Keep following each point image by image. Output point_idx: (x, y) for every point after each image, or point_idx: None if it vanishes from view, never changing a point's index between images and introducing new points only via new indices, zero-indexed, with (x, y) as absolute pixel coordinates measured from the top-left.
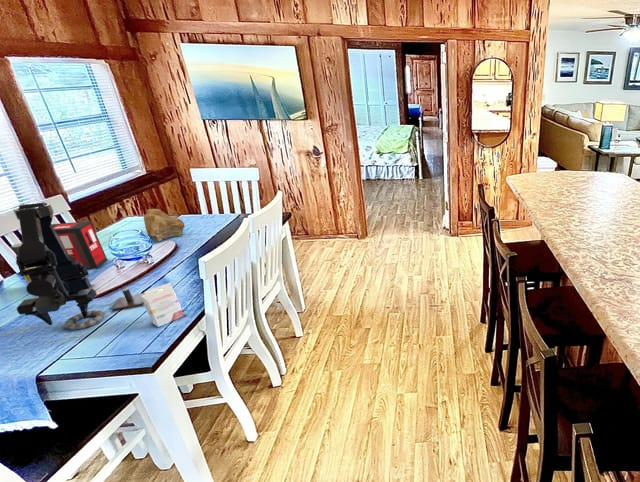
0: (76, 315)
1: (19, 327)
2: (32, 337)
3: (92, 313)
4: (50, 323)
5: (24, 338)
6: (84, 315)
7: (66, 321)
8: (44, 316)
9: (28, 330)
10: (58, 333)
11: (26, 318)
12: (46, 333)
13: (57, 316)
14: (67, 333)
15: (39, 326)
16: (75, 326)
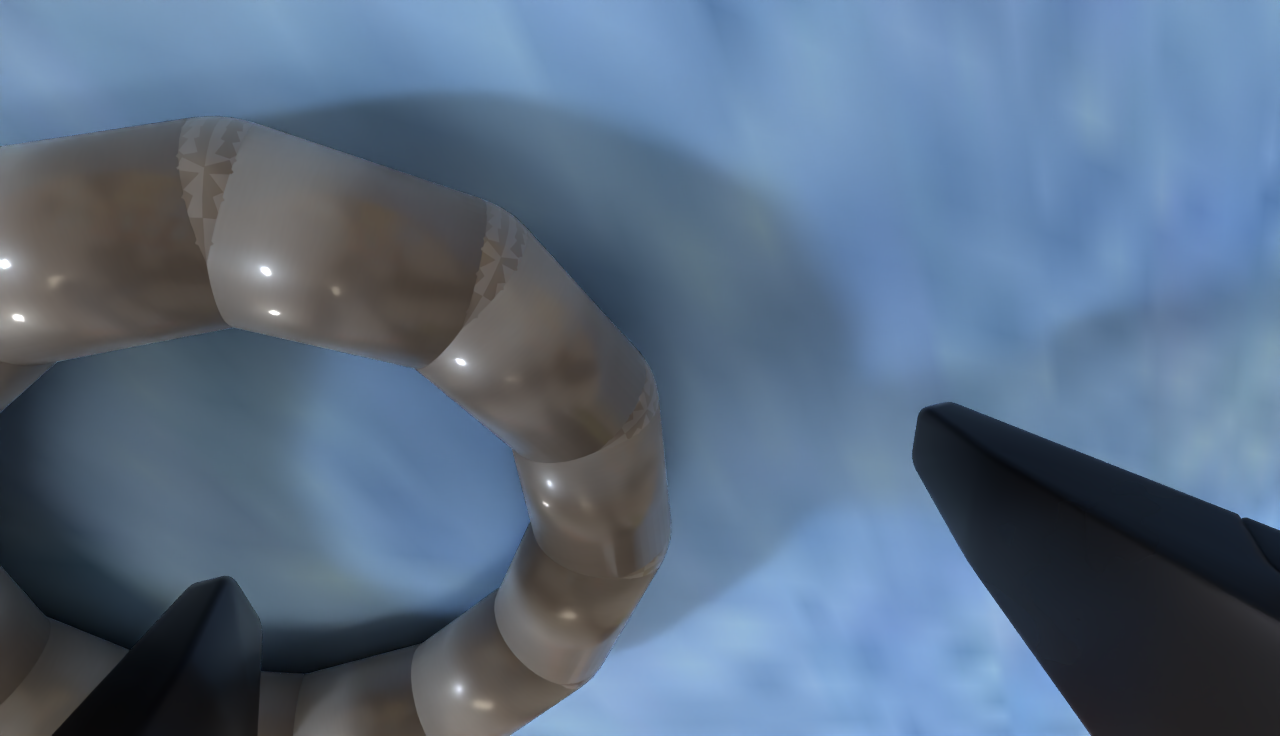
0: (537, 677)
1: (1274, 478)
2: (1156, 92)
3: None
4: (947, 431)
5: (1269, 100)
6: (133, 668)
7: (638, 489)
8: (1210, 617)
9: (1196, 381)
10: (686, 101)
11: None
12: (940, 191)
13: (899, 666)
14: (426, 9)
15: None
16: (160, 168)
